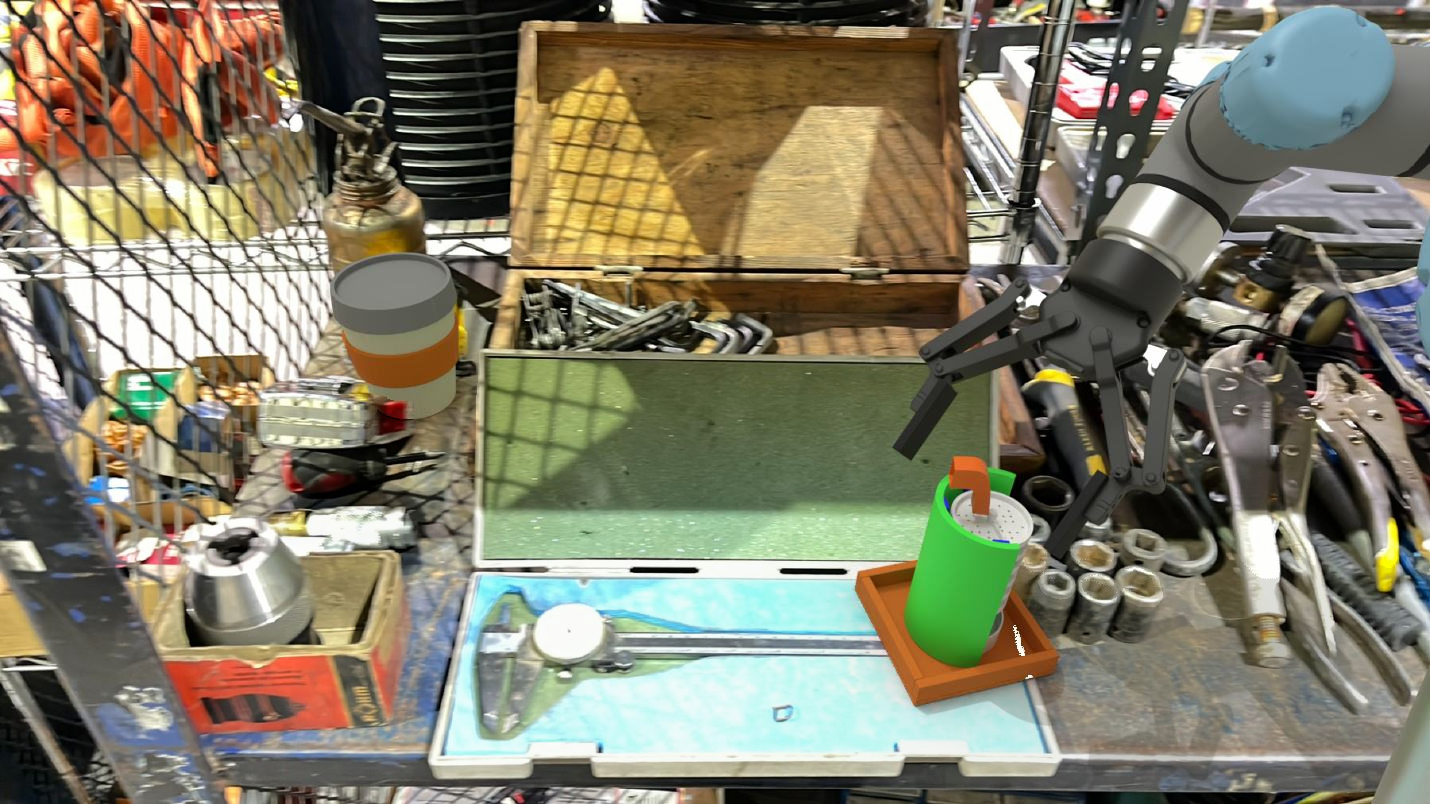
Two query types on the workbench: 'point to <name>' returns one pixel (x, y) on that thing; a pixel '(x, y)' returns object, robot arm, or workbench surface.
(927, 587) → the green-shelled ribbed roller
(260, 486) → the workbench surface
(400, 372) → the reusable coffee cup
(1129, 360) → the robot arm
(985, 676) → the shallow square tray
